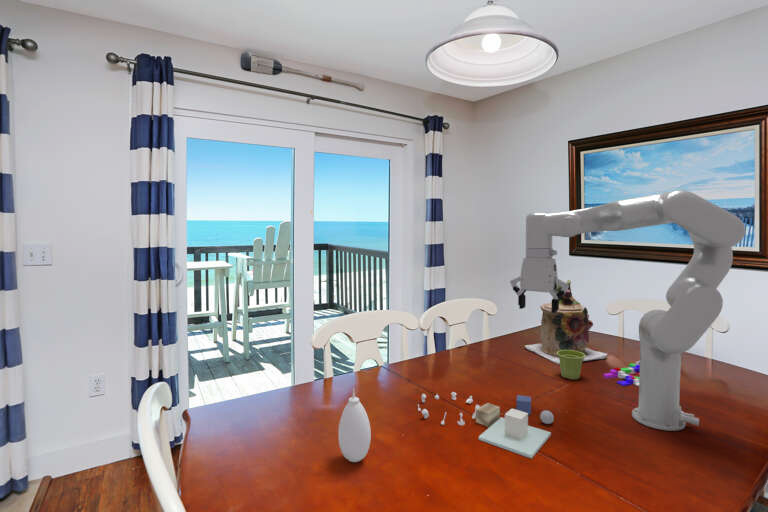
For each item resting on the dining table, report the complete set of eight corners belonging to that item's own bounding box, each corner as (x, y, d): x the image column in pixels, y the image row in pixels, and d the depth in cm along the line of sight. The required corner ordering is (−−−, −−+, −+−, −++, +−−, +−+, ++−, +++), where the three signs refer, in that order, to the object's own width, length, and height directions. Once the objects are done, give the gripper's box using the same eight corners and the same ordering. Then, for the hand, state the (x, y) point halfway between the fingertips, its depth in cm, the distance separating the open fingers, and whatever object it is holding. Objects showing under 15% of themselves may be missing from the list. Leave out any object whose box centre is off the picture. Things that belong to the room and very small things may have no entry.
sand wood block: (499, 420, 118) (499, 407, 117) (488, 427, 114) (488, 413, 113) (487, 415, 121) (487, 402, 120) (476, 422, 116) (476, 409, 116)
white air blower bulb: (371, 450, 103) (369, 381, 101) (371, 469, 95) (369, 394, 93) (340, 451, 102) (338, 382, 101) (337, 470, 95) (335, 395, 93)
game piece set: (431, 431, 112) (431, 418, 112) (407, 402, 131) (407, 390, 131) (493, 421, 117) (494, 408, 117) (462, 394, 136) (462, 383, 136)
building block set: (640, 395, 134) (640, 382, 133) (593, 374, 154) (593, 362, 153) (698, 386, 140) (698, 373, 140) (646, 367, 160) (646, 355, 160)
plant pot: (589, 381, 145) (590, 357, 144) (562, 381, 145) (563, 357, 144) (577, 372, 154) (577, 349, 154) (552, 372, 154) (552, 350, 154)
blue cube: (530, 409, 124) (531, 396, 124) (530, 415, 120) (530, 402, 120) (517, 407, 125) (517, 395, 125) (516, 413, 122) (516, 400, 121)
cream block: (527, 433, 108) (528, 413, 108) (521, 439, 105) (521, 419, 105) (511, 427, 111) (511, 408, 111) (504, 434, 108) (504, 414, 107)
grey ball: (555, 422, 115) (555, 410, 115) (551, 427, 113) (551, 415, 112) (542, 419, 118) (542, 407, 117) (538, 423, 115) (538, 411, 115)
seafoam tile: (550, 435, 109) (550, 432, 109) (531, 458, 98) (531, 455, 98) (501, 419, 118) (501, 417, 118) (478, 439, 107) (478, 436, 107)
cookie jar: (522, 348, 184) (522, 278, 182) (566, 343, 192) (567, 276, 189) (561, 366, 161) (562, 286, 158) (609, 359, 168) (611, 282, 166)
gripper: (572, 254, 120) (571, 311, 121) (515, 252, 131) (515, 304, 132) (565, 255, 114) (564, 315, 115) (506, 253, 125) (505, 308, 126)
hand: (538, 309), depth 124 cm, fingers open, 9 cm apart
